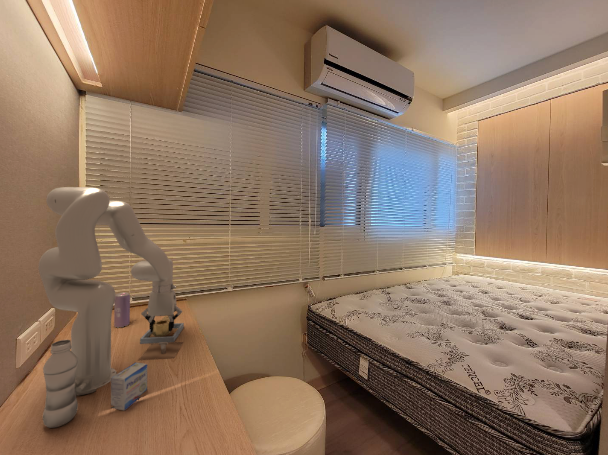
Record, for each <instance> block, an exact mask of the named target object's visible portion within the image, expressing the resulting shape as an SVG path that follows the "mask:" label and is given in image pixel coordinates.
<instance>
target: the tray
mask: <svg viewBox="0 0 608 455" xmlns="http://www.w3.org/2000/svg"><path fill="white" fill-rule="evenodd" d="M184 326H185V325H184V322H180V323H178V322H177V323H175V322H174V328H173V329H176V331H175V332H174V334H173V335H172V336H157V337H156V336H152V337H150V336H151V335H153V332H150V331H151V329H148V330H147V331H146V332H145V333H144V334H143V335H142V336H141V337H140V339H139V344H140V345H142V344H143V345H144V344H145V345H147V344H154V343H160V342H168V343H173V342H175V341H176V340H177V338H178V337H179V336H180V333H181V332H182V330H183V329H184V328H185V327H184ZM173 329H172V330H173Z"/></svg>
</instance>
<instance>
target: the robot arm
mask: <svg viewBox="0 0 608 455" xmlns="http://www.w3.org/2000/svg"><path fill="white" fill-rule="evenodd" d="M45 202H46V205H47V207H48V209H50V211H51V212H53V213H54V214H56V215H58V216H60V218H59V219H58V221H57V224H56V226H55V230H54V234H55V239H56V240H55V241H56V245H57V246H55V247H51V248H49V249H48V250H46V251H45V252H44V253H43V254H42V255H41V257H40V259H39V261H38V268H37V269H38V273H39V277H40V279H41V282H42V286H43V289H44V291H45V294H46V298H47V300H48V302H49V304H50V305H51V306H52V307H53V308H55V309H58V310H61V311H69V312H74V313H77V316H76V317H75V319H74V321H73V323H72V326H71V330H70V331H71V332H70V338H71V339H70V340H71V349H70V351H72V352H73V353H74V354H75V355H76V356H77V358H78V364H77V370H76V376H75V393H76V397H77V396H84V395H88V394H91V393H95V392H97V389H99V388H101V387H103V386H105V385H107V384H108V383H111V378H112V377H113V376H115V375H116V374H118V373H117V370H116V368H115V369H114V368H113V367H111V366H112V363H111V362H112V316H113V315H112V314H113V310H114V309H113V308H114V301H115V295H116V291H115V288H114V287H113V286H112V285H111V284H110V283H108V282H105V281H101V280H92V279H94V278H96V277H98V276H99V275H100V274H101V272H102V268H103V262H102V258H101V254H100V250H99V246H98V241H97V236H96V225H97V226H108V227H109V229H110V230H111V232H112V234H113V235H114V238H115V239H116V241H117V242H118V243H117V244H118V245H119V246H120V248H122V249H124V250H125V251H127V252H129V253H131V254H133V255H136V256H137V257H141V259H143V260H141V261H138V262H135V264H133V266H132V267H131V270H130V273H131V276H132V278H133V279H135V280H138V281H144V282H145V281H146V282H147V281H148V282H152V283H151V284H152V285H151V290H152V291H150V294H149V299H148V303H147V308H145V310H143V311H141V313H140V315H141V316H142V317H144V319H145V320H146V321H147V322H148V323H149V327H148V328H149V329H151V331H150V332H152V333H153V323H154V322H156V320H155V318H156V317H165V316H168V317H169V319H170V322H169V331H171V332H172V330H173V328H174V323H175V320H176V319H178V317H179V316H180V315H181V314H183V310H182V309H181V308H180V307H179V306H178V305H177V295H176V291H175V289H176V288H177V285H176V284H175V285H174V282H173V281H174V277H173V276H174V262H173V260H172V259H171V258H169V257H168V255H167V254H166V252H165V251H164V250H163V249H162V248H161V247H160V246H159V245H158V244H156V243H155V242H154V241H153V240H151V239H150V238H148V237H147V235H146V233H145V232H144V230H143V228H142V225H141V223H140V221H139V219H138V217H137V215H136V213H135V211H134V209H133V207H132V206H131V204H129V203H128V202H126V201H122V200H110V196H109V194H108V193H107V191H105V190H104V189H102V188H97V187H92V186H91V187H90V186H79V187H76V186H66V187H65V186H64V187H56V188H53V189H51V191H49V192H48V193H47V196H46V200H45ZM175 312H177V313H176V314H175ZM174 314H175V315H174ZM149 329H148V330H149ZM174 329H175V328H174Z"/></svg>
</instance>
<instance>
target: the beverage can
mask: <svg viewBox="0 0 608 455" xmlns="http://www.w3.org/2000/svg"><path fill="white" fill-rule="evenodd" d="M113 308H114V309H113V310H114V312H113V314H114V319H113V320H114V322H113V323H114V324H113V326H114V327H115V328H116V327H117V328H116V329H119V327H122V328H125V327H124V326H126V327H127V325H128V326H129V325H130V321H131V314H130V313H131V310H130V309H131V295H130V292H119V293H115V301H114V305H113Z"/></svg>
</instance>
